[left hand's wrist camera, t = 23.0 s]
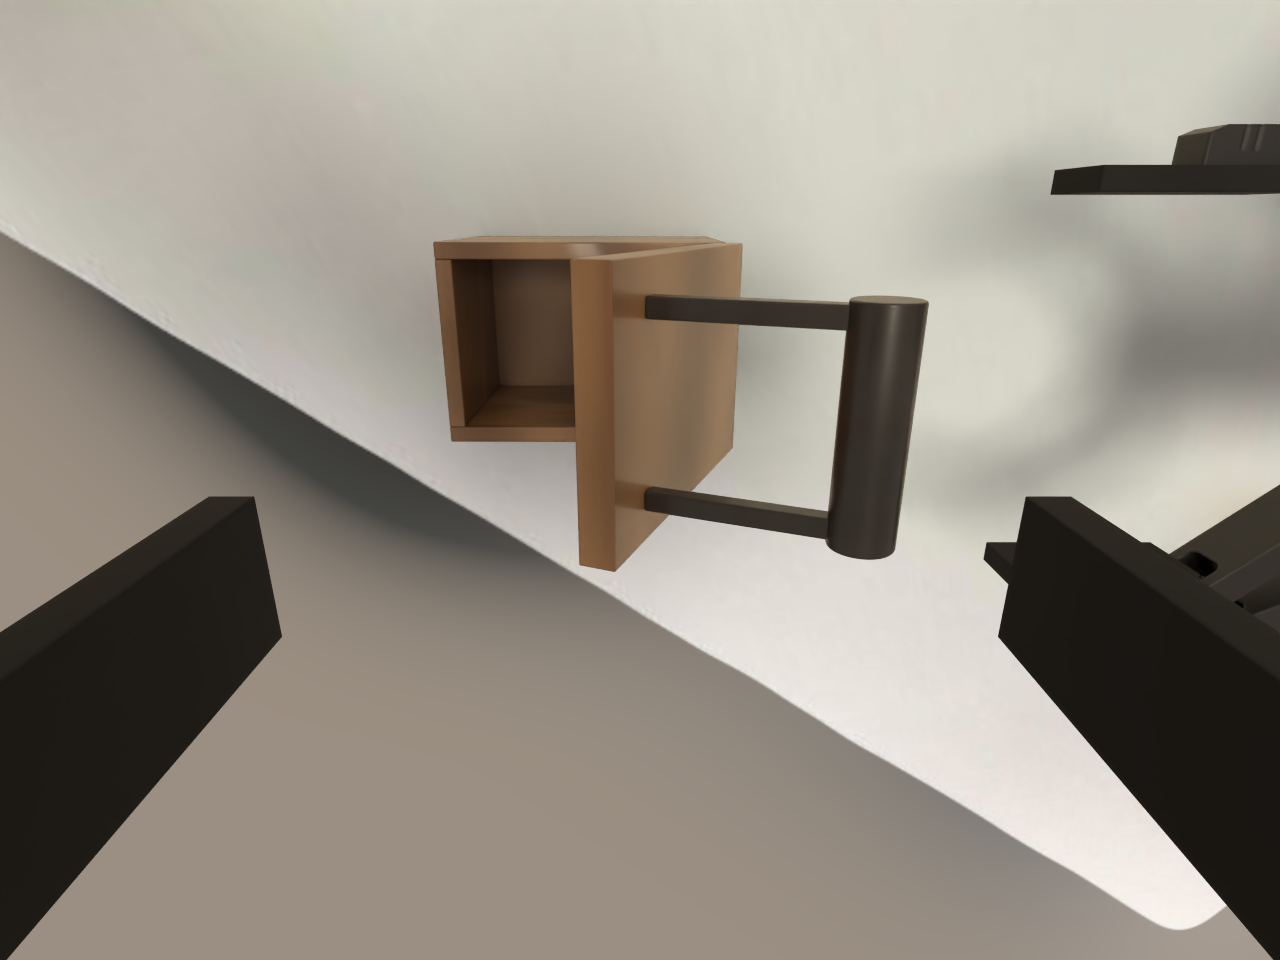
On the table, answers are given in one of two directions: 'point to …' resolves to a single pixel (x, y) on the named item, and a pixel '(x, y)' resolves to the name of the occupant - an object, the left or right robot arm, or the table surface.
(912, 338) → the lid
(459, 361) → the chest
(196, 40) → the table surface
